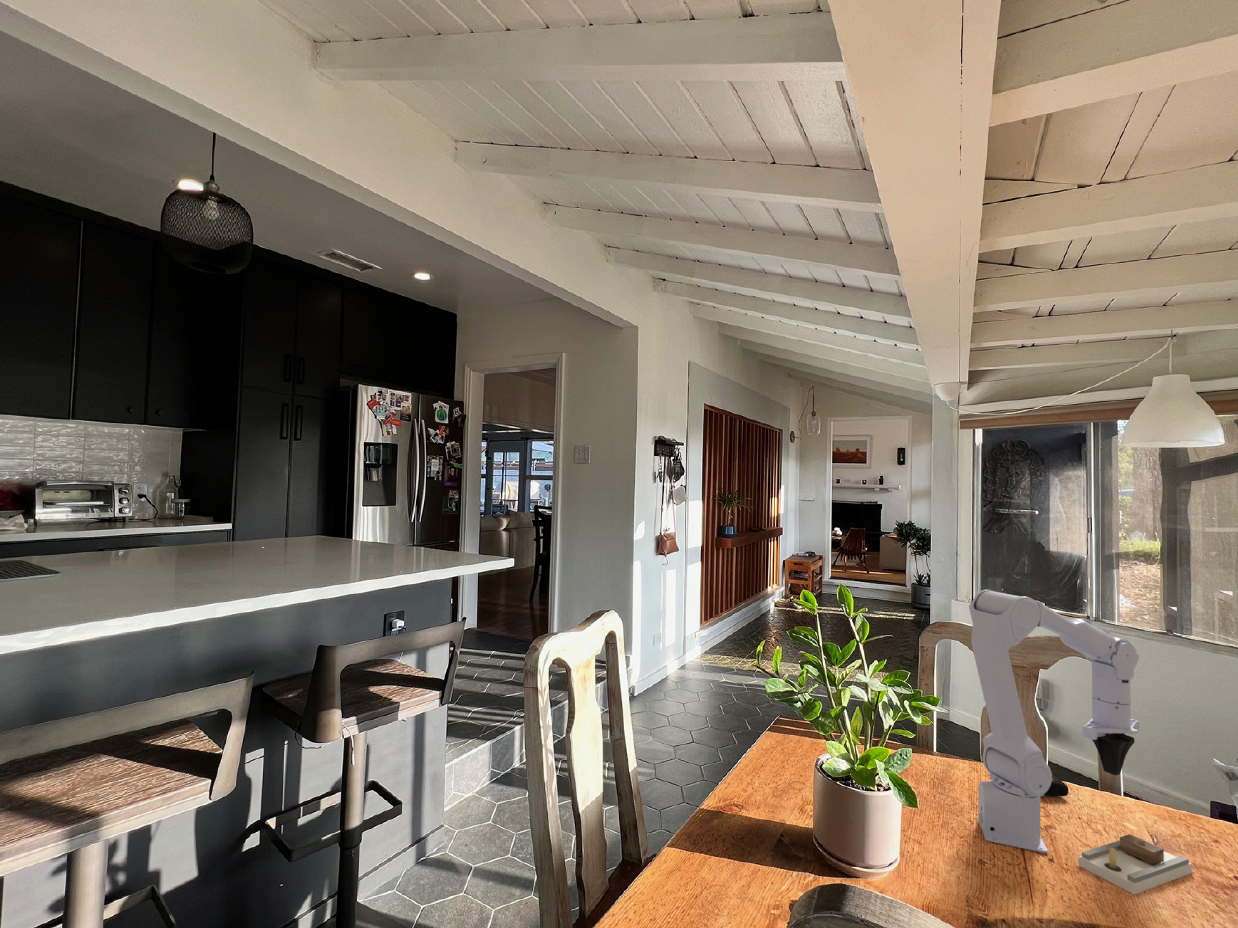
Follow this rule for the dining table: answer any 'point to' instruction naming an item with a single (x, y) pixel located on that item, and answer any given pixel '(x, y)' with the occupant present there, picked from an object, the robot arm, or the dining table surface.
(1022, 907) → the dining table surface
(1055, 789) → the tape measure
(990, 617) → the robot arm
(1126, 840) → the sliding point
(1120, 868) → the plate
